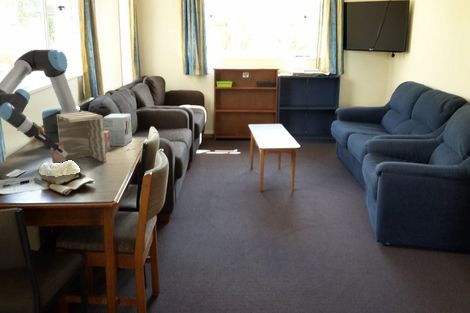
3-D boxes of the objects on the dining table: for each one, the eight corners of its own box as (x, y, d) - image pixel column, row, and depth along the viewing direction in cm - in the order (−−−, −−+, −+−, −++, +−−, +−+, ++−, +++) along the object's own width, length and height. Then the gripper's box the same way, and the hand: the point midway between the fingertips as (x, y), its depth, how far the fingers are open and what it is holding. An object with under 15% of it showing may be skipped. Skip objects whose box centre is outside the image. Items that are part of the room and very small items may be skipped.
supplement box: (125, 146, 290) (123, 117, 286) (104, 146, 291) (102, 117, 286) (133, 140, 307) (131, 113, 302) (113, 140, 308) (111, 113, 303)
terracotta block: (52, 162, 243) (50, 143, 241) (62, 160, 246) (60, 142, 244) (55, 164, 239) (53, 145, 237) (65, 162, 242) (63, 143, 240)
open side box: (61, 160, 258) (56, 114, 251) (91, 155, 268) (87, 111, 262) (75, 167, 242) (70, 119, 236) (106, 162, 252) (102, 115, 246)
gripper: (17, 130, 235) (53, 156, 250) (28, 136, 222) (66, 163, 236) (27, 119, 237) (62, 145, 251) (38, 123, 224) (75, 151, 238)
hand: (64, 154), depth 244 cm, fingers closed on terracotta block, 5 cm apart
